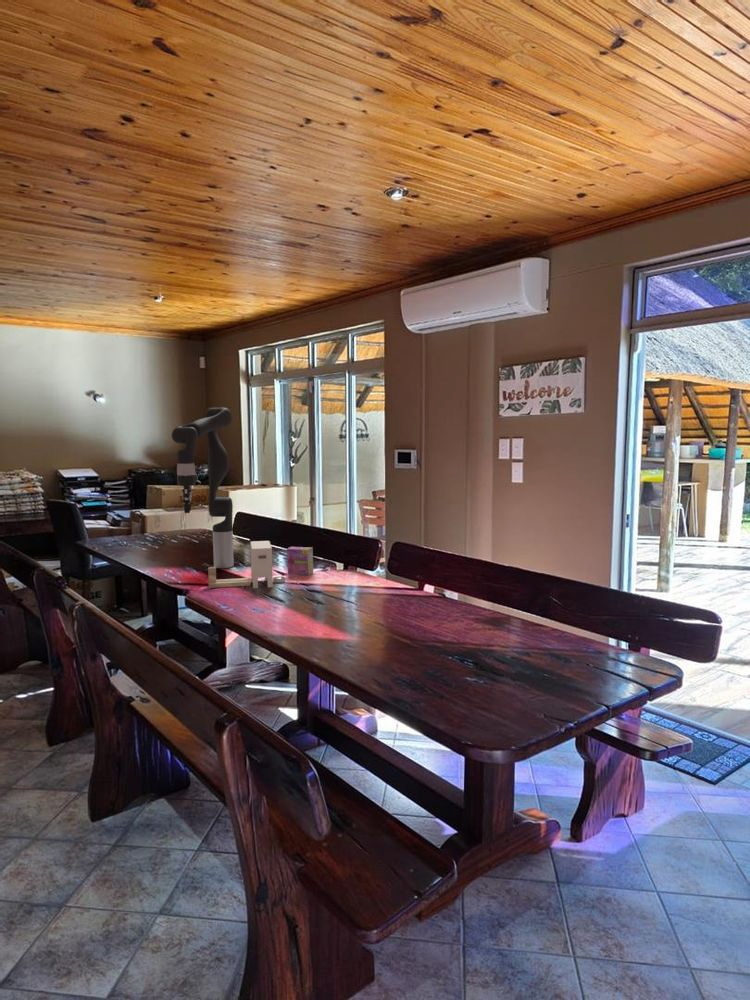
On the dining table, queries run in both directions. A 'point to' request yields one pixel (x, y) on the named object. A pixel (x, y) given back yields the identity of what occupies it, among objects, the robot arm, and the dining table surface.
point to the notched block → (261, 562)
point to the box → (300, 560)
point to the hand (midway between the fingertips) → (187, 511)
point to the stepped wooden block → (225, 580)
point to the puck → (279, 579)
